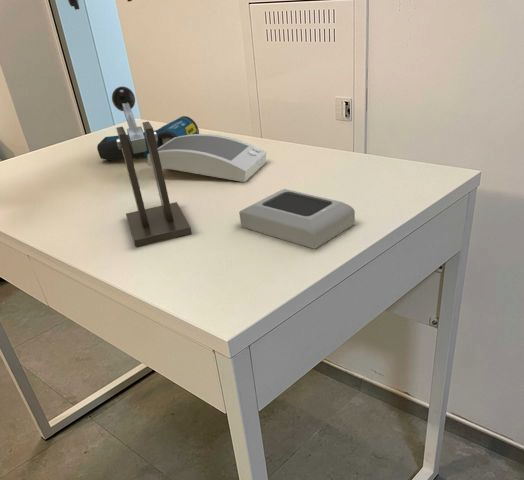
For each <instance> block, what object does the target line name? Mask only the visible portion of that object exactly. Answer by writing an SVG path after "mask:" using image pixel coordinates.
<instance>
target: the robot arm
mask: <svg viewBox="0 0 524 480" xmlns="http://www.w3.org/2000/svg"><path fill="white" fill-rule="evenodd" d="M126 1H127V3H129V2H133V0H126ZM67 2H68V4H69V5H70V7H71V8H72V7H73V8H74V10H75V11H77V10H80V4H79V0H67Z"/></svg>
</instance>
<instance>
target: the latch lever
mask: <svg viewBox="0 0 524 480" xmlns="http://www.w3.org/2000/svg"><path fill="white" fill-rule="evenodd" d="M111 102H112V104H113V106H114V107H115V108H116V109H117V110H119V111H121V112H123V113H124V117H125V120H126V122H127V126H128V128H126V134H128V137H129V142H130V145H131V148H132V151H133V154H135V153H140V152H145V151H147V145H146V140H145V136H144V133H143V132H144V129H143V126H141V125H140V126H138V125H137V123H136V120H135V116H134V113H133V111H132V109H133V108H134V107H135V104H136V97H135V94H134V92H133V91H132V90H131V89H130V88H129V87H127V86H118V87H116V88H115V89H114V90H113V91H112V94H111Z"/></svg>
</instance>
